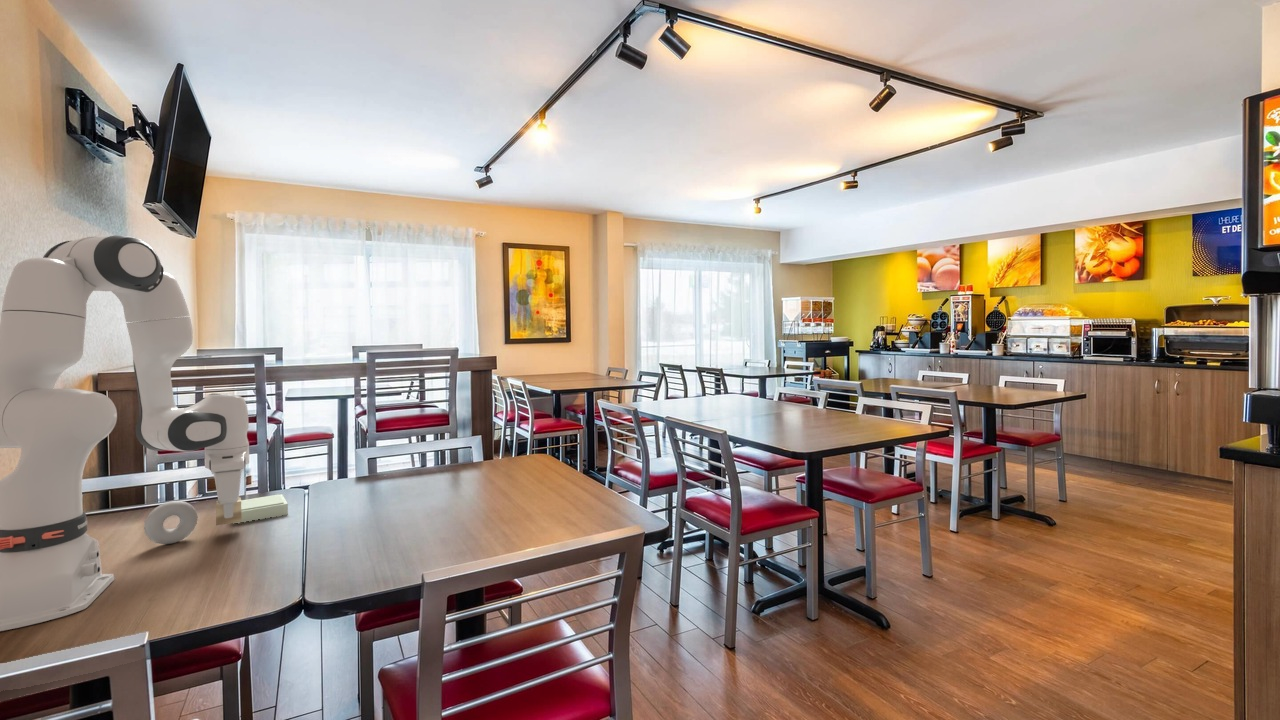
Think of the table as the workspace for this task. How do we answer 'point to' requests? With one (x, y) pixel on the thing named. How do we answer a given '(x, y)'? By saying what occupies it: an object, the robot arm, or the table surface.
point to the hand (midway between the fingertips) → (228, 514)
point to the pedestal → (263, 507)
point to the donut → (160, 513)
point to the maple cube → (235, 518)
